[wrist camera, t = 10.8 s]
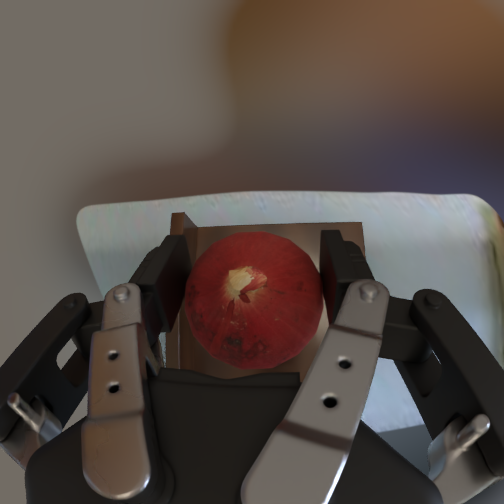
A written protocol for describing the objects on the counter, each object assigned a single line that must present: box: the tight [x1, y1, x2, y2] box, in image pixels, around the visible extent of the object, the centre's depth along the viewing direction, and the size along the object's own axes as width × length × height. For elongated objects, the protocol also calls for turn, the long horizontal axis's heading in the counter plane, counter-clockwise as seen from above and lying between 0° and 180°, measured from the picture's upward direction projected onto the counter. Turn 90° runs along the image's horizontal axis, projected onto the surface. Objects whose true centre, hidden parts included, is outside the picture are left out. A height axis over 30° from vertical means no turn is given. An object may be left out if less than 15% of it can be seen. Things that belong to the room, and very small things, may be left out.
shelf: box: [166, 212, 366, 383], centre depth 25 cm, size 17×15×7 cm
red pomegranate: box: [185, 231, 324, 370], centre depth 12 cm, size 6×6×8 cm
